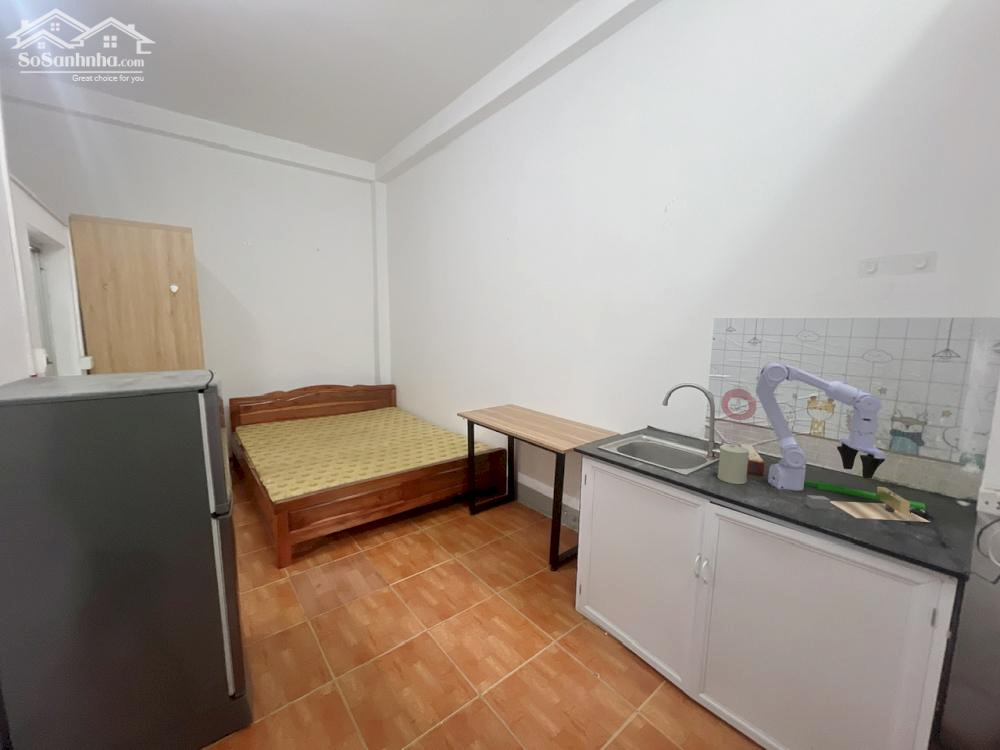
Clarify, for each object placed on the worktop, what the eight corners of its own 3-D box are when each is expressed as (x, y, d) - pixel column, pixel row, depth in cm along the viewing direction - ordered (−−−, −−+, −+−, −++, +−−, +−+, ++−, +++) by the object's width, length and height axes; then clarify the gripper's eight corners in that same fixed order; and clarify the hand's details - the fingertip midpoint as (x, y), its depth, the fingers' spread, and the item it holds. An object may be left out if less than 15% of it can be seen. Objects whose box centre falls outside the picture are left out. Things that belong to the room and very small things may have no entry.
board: (855, 522, 111) (857, 512, 110) (827, 505, 121) (828, 495, 121) (929, 526, 109) (931, 516, 108) (893, 508, 120) (895, 498, 119)
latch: (876, 496, 120) (877, 485, 119) (884, 497, 119) (885, 486, 119) (899, 512, 109) (901, 500, 109) (908, 513, 109) (910, 501, 108)
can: (741, 475, 145) (743, 444, 144) (750, 485, 137) (754, 452, 135) (714, 473, 147) (716, 442, 146) (721, 482, 139) (724, 450, 137)
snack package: (765, 477, 144) (767, 460, 144) (744, 474, 147) (746, 457, 146) (753, 460, 164) (755, 444, 163) (735, 457, 166) (736, 442, 166)
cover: (813, 519, 113) (815, 502, 113) (795, 506, 121) (797, 491, 121) (846, 520, 113) (848, 504, 112) (826, 508, 120) (828, 492, 120)
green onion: (920, 511, 119) (797, 484, 136) (922, 501, 119) (799, 475, 135) (925, 517, 115) (798, 489, 132) (927, 507, 115) (800, 480, 132)
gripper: (897, 438, 114) (891, 482, 116) (857, 426, 128) (852, 465, 130) (871, 437, 115) (865, 481, 116) (834, 425, 129) (829, 464, 131)
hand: (857, 473), depth 123 cm, fingers open, 7 cm apart
